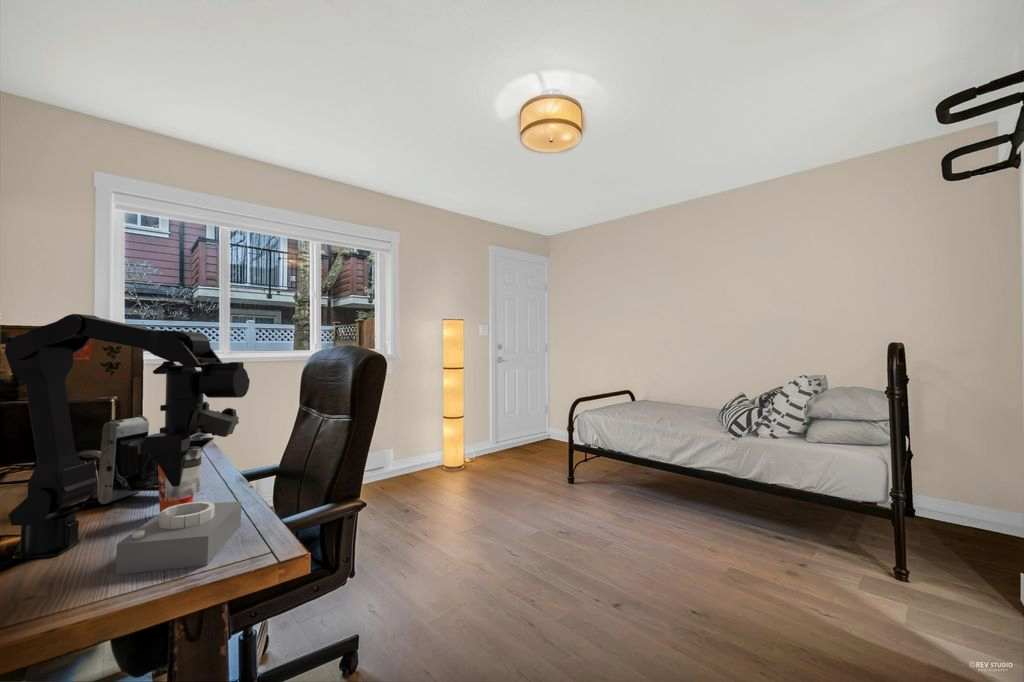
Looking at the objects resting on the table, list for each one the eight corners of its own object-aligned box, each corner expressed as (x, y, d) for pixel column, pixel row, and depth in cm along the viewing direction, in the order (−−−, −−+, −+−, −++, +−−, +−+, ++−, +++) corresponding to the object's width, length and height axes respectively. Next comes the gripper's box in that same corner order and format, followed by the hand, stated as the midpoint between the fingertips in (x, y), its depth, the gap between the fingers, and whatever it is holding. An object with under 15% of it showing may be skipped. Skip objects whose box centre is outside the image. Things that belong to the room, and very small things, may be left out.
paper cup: (146, 522, 93) (149, 456, 93) (164, 509, 100) (166, 448, 100) (188, 519, 95) (191, 454, 95) (203, 507, 102) (205, 447, 102)
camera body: (115, 574, 71) (117, 531, 71) (168, 531, 88) (169, 496, 89) (207, 565, 75) (208, 524, 75) (240, 525, 92) (241, 491, 92)
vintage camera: (158, 508, 102) (165, 423, 103) (93, 504, 102) (102, 419, 103) (189, 495, 112) (196, 417, 113) (130, 492, 112) (137, 414, 113)
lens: (158, 498, 78) (159, 453, 78) (172, 489, 83) (174, 447, 83) (193, 495, 79) (194, 451, 80) (205, 487, 85) (206, 445, 85)
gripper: (214, 402, 75) (212, 493, 74) (248, 392, 93) (247, 466, 92) (137, 404, 72) (134, 499, 71) (188, 393, 90) (186, 469, 89)
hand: (183, 481), depth 81 cm, fingers closed on lens, 5 cm apart
